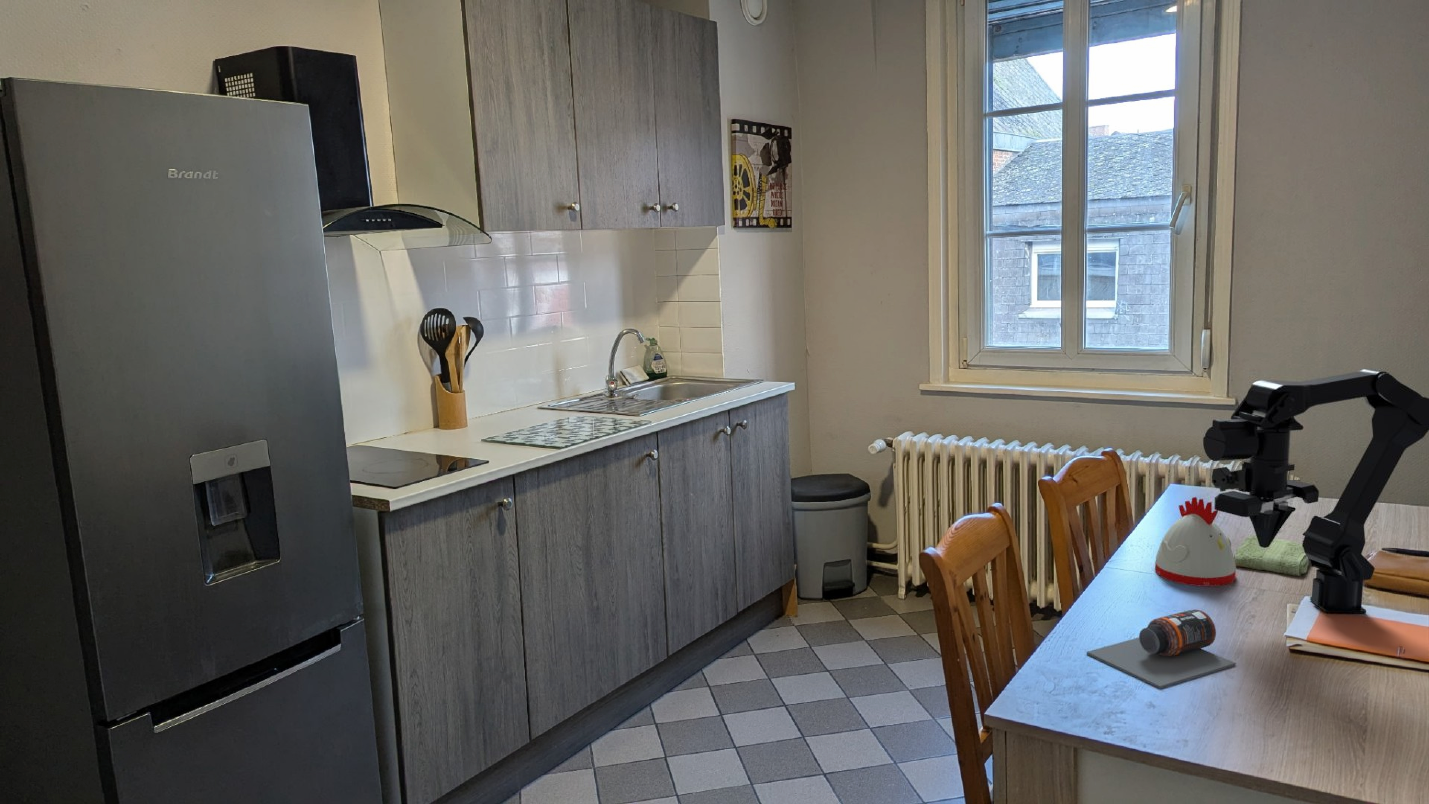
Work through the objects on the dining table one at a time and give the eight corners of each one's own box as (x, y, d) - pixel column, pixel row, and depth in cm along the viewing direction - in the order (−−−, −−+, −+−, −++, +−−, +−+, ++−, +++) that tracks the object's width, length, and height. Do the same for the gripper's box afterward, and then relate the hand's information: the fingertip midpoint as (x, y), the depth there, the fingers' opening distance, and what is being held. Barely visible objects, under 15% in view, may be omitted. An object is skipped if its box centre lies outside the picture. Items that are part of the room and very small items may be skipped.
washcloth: (1318, 555, 200) (1319, 539, 200) (1303, 580, 187) (1305, 564, 186) (1246, 544, 209) (1246, 529, 208) (1227, 568, 195) (1227, 552, 194)
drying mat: (1159, 633, 164) (1159, 631, 164) (1235, 665, 151) (1235, 662, 151) (1086, 654, 157) (1086, 651, 157) (1160, 688, 145) (1160, 686, 145)
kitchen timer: (1198, 591, 183) (1201, 511, 180) (1139, 569, 195) (1141, 495, 193) (1251, 578, 188) (1256, 501, 186) (1191, 558, 201) (1194, 485, 198)
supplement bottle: (1203, 602, 157) (1150, 614, 153) (1225, 636, 154) (1171, 650, 149) (1179, 618, 162) (1127, 631, 157) (1200, 652, 158) (1147, 666, 154)
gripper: (1262, 442, 177) (1257, 526, 180) (1188, 455, 169) (1184, 543, 172) (1323, 453, 167) (1317, 542, 170) (1247, 467, 159) (1242, 561, 162)
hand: (1264, 547), depth 169 cm, fingers closed
